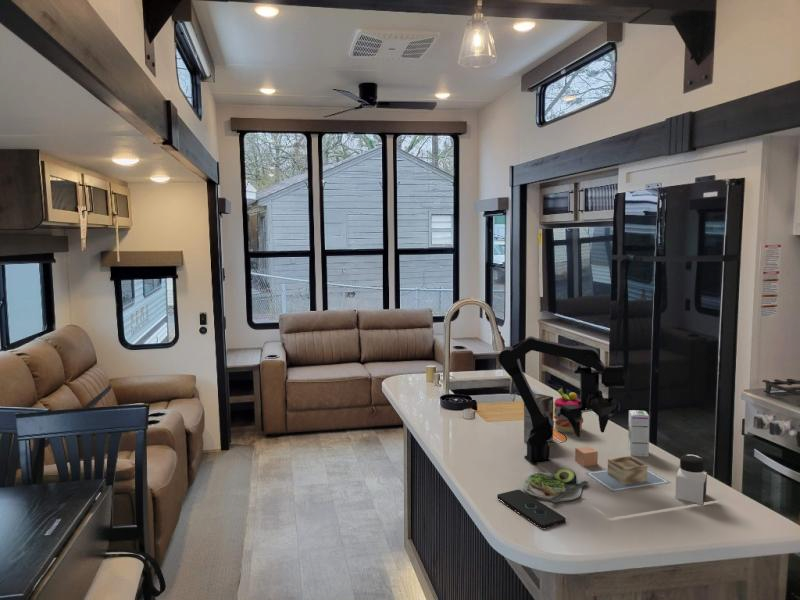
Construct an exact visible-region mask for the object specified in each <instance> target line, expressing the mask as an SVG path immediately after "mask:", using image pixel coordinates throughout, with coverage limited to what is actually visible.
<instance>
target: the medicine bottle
mask: <svg viewBox="0 0 800 600" xmlns="http://www.w3.org/2000/svg"><path fill="white" fill-rule="evenodd" d="M679 459H680V460H679V469H678V470H677V473H676V476H675V490H674V491H675V493H674V494H675V495H674V498H675V500H676V499H678V500H682V501H686V502H690V503H691V502H692V503H693V504H694V505H698V506H699V505H700V506H704V504H705V499H706V496H707V483H708V482H707V481H708V480H707V479H708V472H707V471H705V459H703V458H702V457H700V456H699V455H695V454H684V455H681V456H680V458H679Z"/></svg>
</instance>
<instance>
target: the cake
mask: <svg viewBox="0 0 800 600" xmlns="http://www.w3.org/2000/svg"><path fill="white" fill-rule="evenodd" d="M557 391H558V394H559V395H560V396H561V397H559V398H556V399H555V401H554V407H555V408H554V411H553V414H554V415H553V419H555V421H554V430H556V431H557V430H558V431H557V432H559V431H560V432H559V433H565V434H575V432H574V430H573V427H572V425H571V423H570V422H569V420H568V418H567V417H564V416H563V415H561V414H560V408H561V407H562V406H564V405H570V404H571V405H574V406H576V407H581V405H578V401H580V399H578V395H577V393H575V392H573V391H572V392H569V394H566V393H564V390H563V388H559V389H558V390H557ZM583 413H584V412H582V413H581V416H580V418H582V419H581V421H580V433H581V432H582V430H583V423H584V417H583Z"/></svg>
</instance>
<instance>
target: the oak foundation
mask: <svg viewBox="0 0 800 600" xmlns="http://www.w3.org/2000/svg"><path fill="white" fill-rule="evenodd" d="M647 469H648V465H647V464H646V463H643V462H642V461H640V460H638V459H636V458H634V456H631V455H630V456H629V455H627V456H620V457H615V458H608V459H607V470H608V473H607V474H608V475H610V476H611V477H613V478H614V479H616V480H617V481H619V482H620V483H622V484H624V485H625V484H632V483H639V482H645V481H647ZM648 470H649V469H648Z"/></svg>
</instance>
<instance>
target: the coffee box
mask: <svg viewBox="0 0 800 600" xmlns="http://www.w3.org/2000/svg"><path fill="white" fill-rule="evenodd" d="M534 396H535V398H536V400H537V402H538V404H539V406H540V408H541V409H542V410H543V411H544V413H546V412H548V411H549V414H550V417H551V419H552V420H553V421H554V397H553V396H552V395H551V396H550V395H546V394H541V393H538V394H534ZM532 429H533V426H532V421H531V416H530V414H529V412H528V410H527V408H526V406H525V404H524V403H523V441H524V443H527V441H528V437H529V432H530V430H532ZM553 440H554V434H553V435H552V437H551V439H549V440H547V442H550V441H553Z"/></svg>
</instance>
